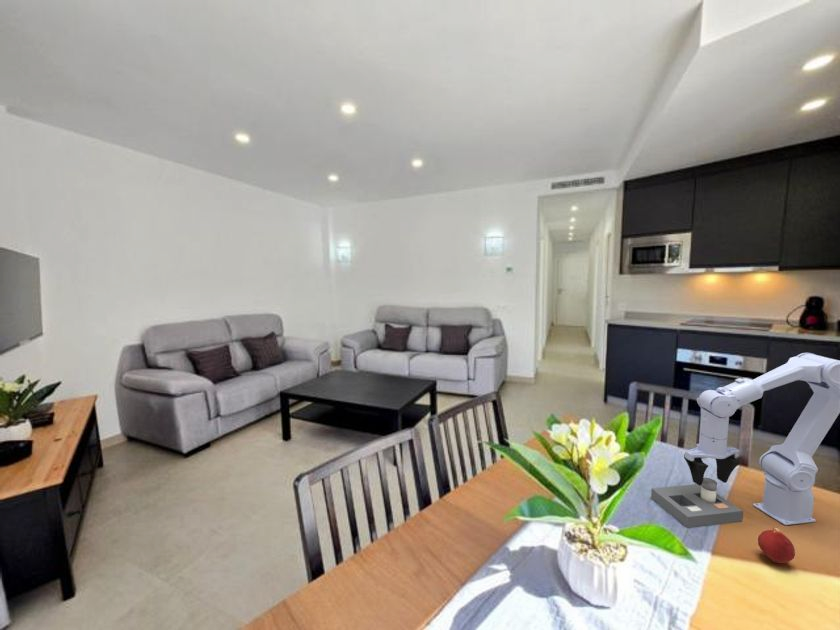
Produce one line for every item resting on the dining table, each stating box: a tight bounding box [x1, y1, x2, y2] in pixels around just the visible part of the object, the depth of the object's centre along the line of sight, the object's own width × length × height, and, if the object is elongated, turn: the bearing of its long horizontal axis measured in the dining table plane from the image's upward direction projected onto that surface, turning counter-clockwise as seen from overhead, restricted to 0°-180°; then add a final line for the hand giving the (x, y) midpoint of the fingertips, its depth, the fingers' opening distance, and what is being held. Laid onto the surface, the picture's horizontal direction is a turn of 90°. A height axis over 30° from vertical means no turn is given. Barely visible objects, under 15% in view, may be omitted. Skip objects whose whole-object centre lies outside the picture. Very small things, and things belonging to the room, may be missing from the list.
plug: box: [701, 477, 718, 504], centre depth 96 cm, size 3×3×8 cm
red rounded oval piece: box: [757, 527, 796, 564], centre depth 78 cm, size 6×6×8 cm
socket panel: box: [650, 483, 744, 529], centre depth 96 cm, size 16×12×3 cm
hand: (709, 481), depth 96 cm, fingers open, 7 cm apart
